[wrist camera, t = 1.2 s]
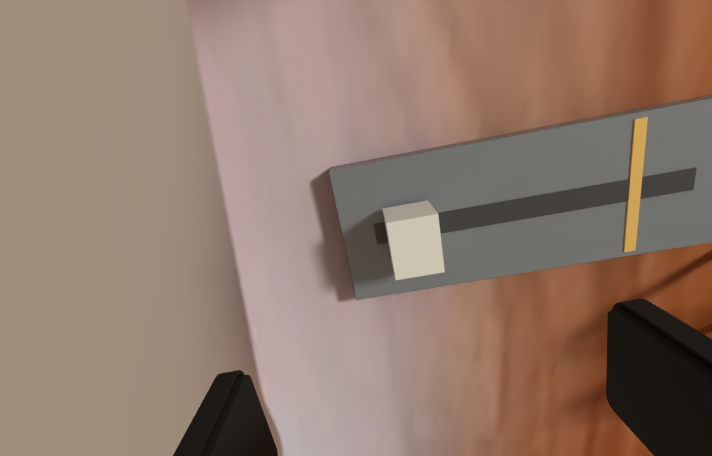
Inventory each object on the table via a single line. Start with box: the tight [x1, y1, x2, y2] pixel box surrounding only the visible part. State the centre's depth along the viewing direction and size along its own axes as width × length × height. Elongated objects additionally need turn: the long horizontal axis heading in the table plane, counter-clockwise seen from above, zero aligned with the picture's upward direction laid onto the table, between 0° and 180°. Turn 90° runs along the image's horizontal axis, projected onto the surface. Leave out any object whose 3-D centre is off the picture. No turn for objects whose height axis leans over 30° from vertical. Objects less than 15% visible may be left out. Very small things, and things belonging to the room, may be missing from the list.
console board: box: [329, 95, 712, 300], centre depth 31 cm, size 13×34×2 cm, turn 101°
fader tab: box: [383, 200, 445, 280], centre depth 28 cm, size 5×4×4 cm
